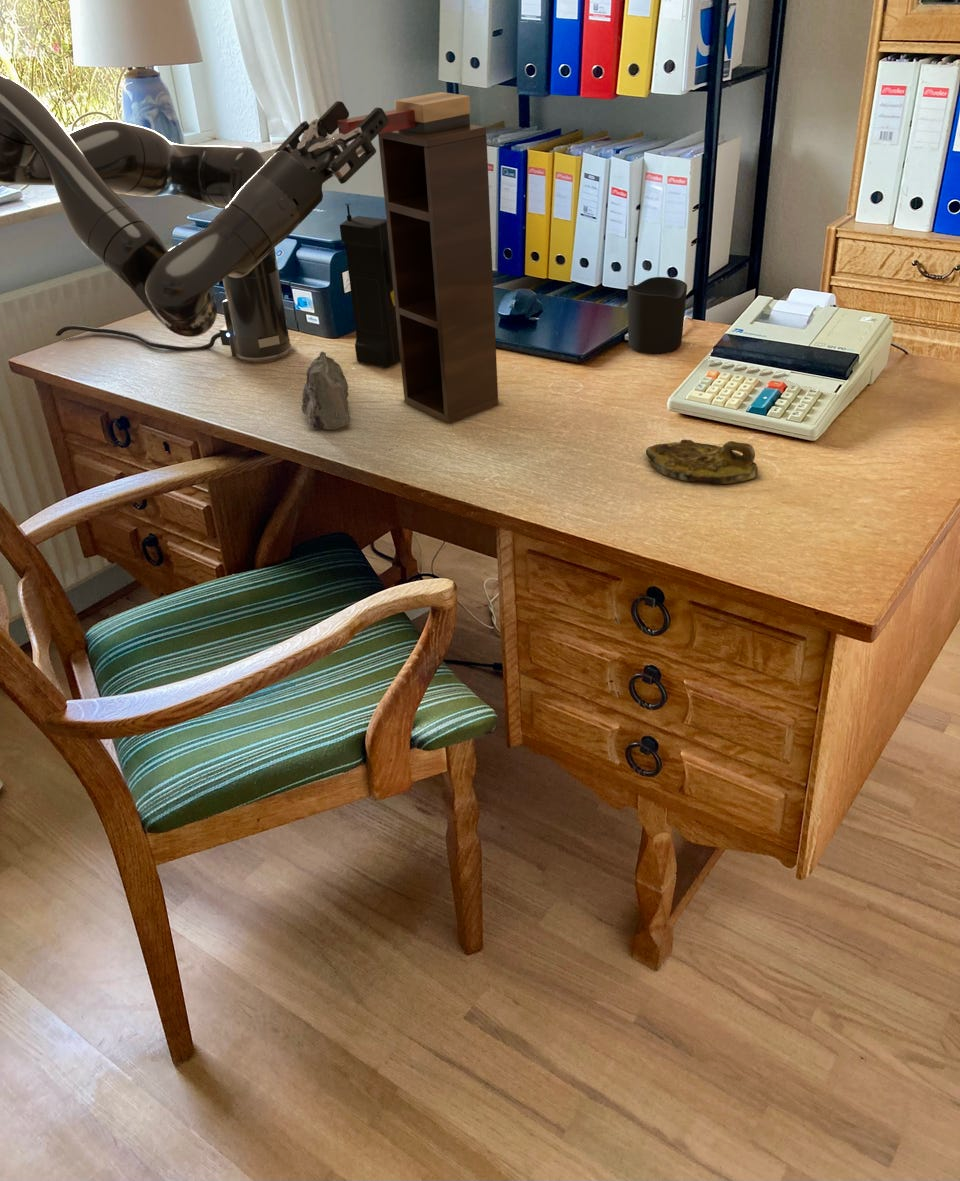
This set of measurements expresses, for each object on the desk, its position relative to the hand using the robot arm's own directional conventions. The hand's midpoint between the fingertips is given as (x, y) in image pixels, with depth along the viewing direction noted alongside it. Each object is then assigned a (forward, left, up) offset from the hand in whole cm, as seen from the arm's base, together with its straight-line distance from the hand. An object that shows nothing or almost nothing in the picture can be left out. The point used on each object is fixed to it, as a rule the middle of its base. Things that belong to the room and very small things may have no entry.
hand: (363, 110), depth 126 cm
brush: (+3, +5, -4) cm, 7 cm away
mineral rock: (-11, +1, -42) cm, 44 cm away
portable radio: (-12, +23, -42) cm, 50 cm away
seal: (+45, -2, -42) cm, 61 cm away
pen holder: (+30, +39, -42) cm, 65 cm away
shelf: (+5, +9, -42) cm, 43 cm away
